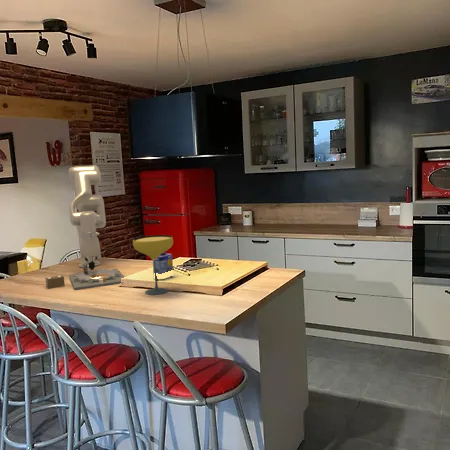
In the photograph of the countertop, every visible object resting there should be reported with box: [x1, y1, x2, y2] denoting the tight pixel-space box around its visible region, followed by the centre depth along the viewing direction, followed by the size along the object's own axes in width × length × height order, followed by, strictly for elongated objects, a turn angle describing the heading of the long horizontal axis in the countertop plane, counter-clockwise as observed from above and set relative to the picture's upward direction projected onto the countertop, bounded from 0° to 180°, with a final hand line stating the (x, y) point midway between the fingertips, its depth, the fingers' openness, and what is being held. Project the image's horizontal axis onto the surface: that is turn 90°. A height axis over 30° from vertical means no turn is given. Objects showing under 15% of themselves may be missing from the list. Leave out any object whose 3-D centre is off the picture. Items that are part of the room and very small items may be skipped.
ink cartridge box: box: [152, 251, 174, 274], centre depth 241 cm, size 10×6×14 cm, turn 144°
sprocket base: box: [68, 268, 126, 291], centre depth 247 cm, size 32×26×3 cm
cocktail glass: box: [132, 234, 174, 296], centre depth 215 cm, size 18×18×25 cm
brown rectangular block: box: [44, 274, 66, 290], centre depth 237 cm, size 5×8×5 cm, turn 121°
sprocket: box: [73, 264, 121, 283], centre depth 246 cm, size 24×24×6 cm
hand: (92, 269), depth 252 cm, fingers closed
